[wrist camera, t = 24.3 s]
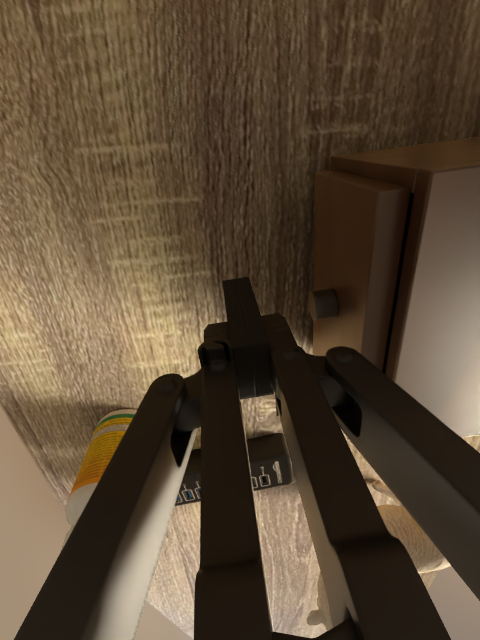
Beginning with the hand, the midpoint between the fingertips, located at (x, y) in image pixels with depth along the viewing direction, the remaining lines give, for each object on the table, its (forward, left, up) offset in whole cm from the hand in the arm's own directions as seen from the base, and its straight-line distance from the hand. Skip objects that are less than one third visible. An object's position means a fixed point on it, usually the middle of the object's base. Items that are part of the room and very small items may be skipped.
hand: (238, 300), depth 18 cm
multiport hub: (-4, -18, -3) cm, 19 cm away
